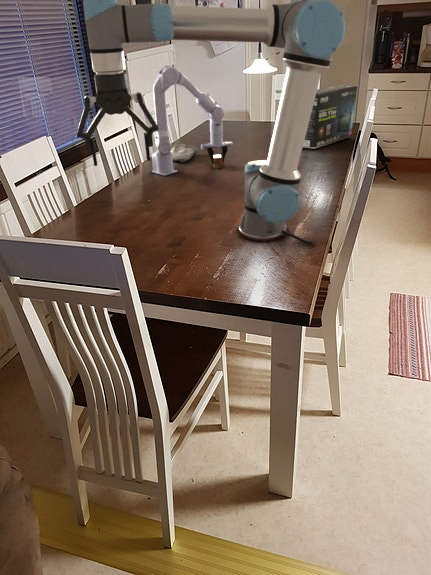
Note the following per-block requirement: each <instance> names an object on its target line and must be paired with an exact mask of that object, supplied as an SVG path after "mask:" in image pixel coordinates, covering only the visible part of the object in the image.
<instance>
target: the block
mask: <svg viewBox="0 0 431 575" xmlns="http://www.w3.org/2000/svg"><path fill="white" fill-rule="evenodd" d="M213 160H214V165H212V164H211V166H212V167H213V169H223V168H224V163H223V157H222V156H221V154H213Z"/></svg>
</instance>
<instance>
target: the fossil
mask: <svg viewBox="0 0 431 575" xmlns="http://www.w3.org/2000/svg"><path fill="white" fill-rule="evenodd" d="M171 151H172V159H173V162H177V161H179V162H180V163H185V162H187V161H188V160H190V159H191V158H192V157H193V156H194V155H197V154H198V153H199V150H198V148H197V146H195V145H188V146H187V145H186V143H184V142H183V143H181V142H176V143H175V145H174V146H172V150H171Z"/></svg>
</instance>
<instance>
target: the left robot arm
mask: <svg viewBox="0 0 431 575" xmlns="http://www.w3.org/2000/svg"><path fill="white" fill-rule="evenodd" d="M174 85H178V86H182V87H183V88H184V89H185V90H187V91H188V93H190V94H191V95H192V96H193V97H194V98H195V104H196V105H198V106H199V107H200V108H201V109H202V110H203V111H204V112H205V113H207V115H208V117H209V137H210V142H208V143H203V144H200V150H204V151H205V150H206V152H207V154H208V156H209V159H210V164H211V166H212V165H214V160H213V155H214V149H220V150H219V151H220V155H221V156H222V157H223V164H224V162H225V158H226V155H227V153H228V150H229V148H233V146H234V145H233V144H234V143H233V142H232V141H224V130H223V128H224V126H223V118H224V116H225V112H224V109H223V108H222V107H221V106H219V105H218V102H217V101H215V100H214V99H213V98H212V97H211V94H209V93H208V92H207V93H206V92H205V91H203V92H201V91H200V90H199V89H198V88H197V87H196V86H195V84H193V83H192V81H191V80H190V79H189V78H188V77H187V76H186V75H185V74H183V73H182V72H181V71H179V70H178V69H177V68H175V67H173V66H171V65H165V66H163V67H162V68H161V69H160V70H159V71H158V73H157V76H156V78H155V81H154V82H153V85H152V95H153V106H154V107H153V108H154V118H155V119H154V120H155V123H156V124H157V126H158V128H159V130H158V131H155V140H154V147H155V148H156V151H154V153H153V154H152V156H151V161H152V162H151V163H152V170H151V172H152V173H153V174H157V175H161V176H164V177H165V176H168V175H172V174H176V173H178V170H176V169H174V160H173V159H172V151H171V150H172V148H173V145H172V142H171V140H170V135H169V130H168V118H167V117H168V116H167V105H166V91H168V90H169V88H170V87H172V86H174Z"/></svg>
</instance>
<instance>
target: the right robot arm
mask: <svg viewBox="0 0 431 575" xmlns="http://www.w3.org/2000/svg"><path fill="white" fill-rule="evenodd" d="M82 3H83V12H84V13H83V14H84V23H85V29H86V34H87V40H88V47H89V52H90V59H91V66H92V71H93V72H94V73H95V74H94V78H93V80H94V84H95V90H96V96H90V95H85V96H84V98H83V99H84V100H83V101H84V107H83V111H82V114H81V118H80V120H79V124H78V127H77V131H76V137H77V139H78V138H79V139H83V140H84V142H85V146H86V147H85V148H86V151H87V153H91V154H92V160H93V166H94V167H97V166H98V158H97V154H96V147H95V142H94V141H95V140H94V137H92V136H93V134H94V132H95V131H96V129H97V127H98V126H99V124H100V123H101V121H102V119H103V118H104V117H105V115H106V114H107V115H109V116H113V115H123V114H125V113H126V114H127V115H128V116H129V117H130V118H131V119H133V121H135V122H136V124H137V125H138V126H139V127H140V128H142V129H143V130H144V131H145V132H143V139H144V147H145V155H146V156H145V158H146V160H147V162H150V161H151V151H150V148H152V147H153V146H154V141H153V140H154V139H153V133H156V131H158V130H159V128H158V126H157V124H156V120H155V119H154V117H153V116H152V114H151V113H150V111H149V110H148V108H147V106H146V104H145V103H144V99H143V95H142V92H140V91H137V92H136V93H131V94H130V92H129V86H128V78H127V73H126V72H125V70H126V61H125V54H124V53H125V52H124V47H123V46H124V45H123V44H130V43H162V42H169V41H194V42H195V41H196V42H197V41H199V42H235V43H263V44H264V46H265V47H268V48H280V49H284V51H283V54H282V61H283V63H284V65H285V66H286V70H285V76H284V79H283V84H282V88H281V93H280V97H279V98H280V99H279V104H278V107H277V111H276V117H275V122H274V127H273V130H272V131H273V132H272V136H271V140H270V145H269V149H268V154H267V159H261V160H259V159H258V160H252V161H249V162H247V163H246V164H245V165H244V172H243V175H244V211H243V213H242V216H241V220H240V222H239V226H238V232H239V235H240V236H241V237H242V238H244V239H247V240H250V241H254V242H271V241H277V240H279V239H281V238H283V237H285V235H286V236H288V237H291V238H293V239H295V240H297V241H299V242H301V243H304V244H305V245H306V244H307V245H311V246H313V244H314V242H313V241H309V240H307V239H304V238H301V237H299V236H297V235H295V234H293V233H291V232H289V231H287V223H286V222H288V221H289V220H290V219H292V218H293V217H294V216H296V214H297V213H298V211H299V208H300V205H301V197H300V194H299V192H298V190H299V187H300V183H301V179H302V174H301V172H300V171H299V170H298V169H299V165H300V159H301V155H302V151H303V144H304V140H305V136H306V132H307V128H308V124H309V120H310V116H311V112H312V108H313V104H314V100H315V96H316V92H317V90H318V89H319V84H320V80H321V76H322V74H323V73H324V72H325V71H327V70H328V69H329V68H330V65H331V61H332V57H333V54H334V53H335V52H336V51H337V50H338V49H339V48H340V46H341V45H342V43H343V40H344V38H345V33H346V21H345V17H344V14H343V12H342V10H341V9H340V7H339V6H338V5H336V4H335V3H334V2H332V1H331V0H298V1H295V2H290V3H289V2H288V3H282V4H271V3H270V4H268V6H266V7H265V8H252V7H248V8H247V7H221V6H219V7H218V6H217V7H215V6H187V5H186V6H184V5H170V4H169V3H159V2H154V3H141V4H140V3H139V4H119V2H118V0H83V2H82ZM132 100H133V101H134V103H135V104H138V106H139V107H140V109H141V110H142V113H143V114H144V116H145V118H147V120H148V122H149V124H150V126H149V125H147V123H146V122H145V121H143V119H142V118H141V117H140V116H139V115H138V114H137V113H136V112H135V111H134V110H133V109H132V108H131V107H130V106H129V105H130V103H131V102H132ZM95 103H96V104H97V106H98V107H100V109H99V110H98V112H97V114H96V115H95V116H94V118H93V120H92V122H91V123H90V125H89V127H88V128H87V129H86V131H85V132H84V130H85V127H86V124H87V120H88V116H89V113H90V109H91V107H93V106H94V104H95Z"/></svg>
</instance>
